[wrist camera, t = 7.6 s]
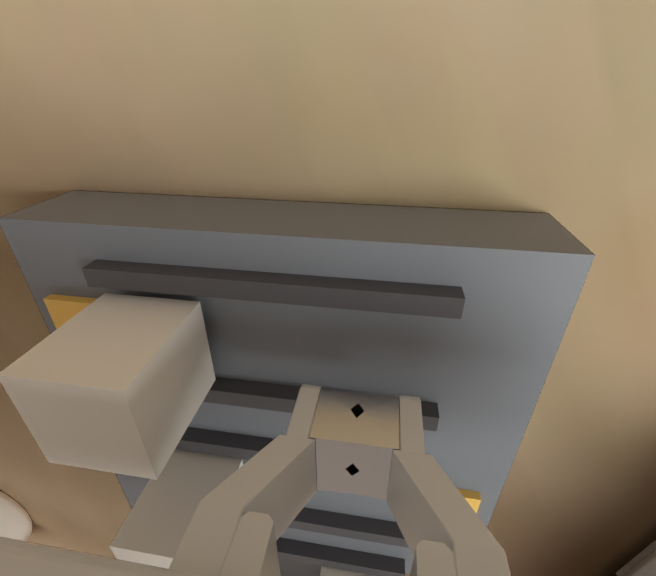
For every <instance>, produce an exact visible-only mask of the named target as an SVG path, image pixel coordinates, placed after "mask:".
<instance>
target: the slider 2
mask: <svg viewBox="0 0 656 576" xmlns="http://www.w3.org/2000/svg"><path fill="white" fill-rule="evenodd" d="M241 466H243V461H242V459H238V458H231V457H224V456H217V455H210V454H204V453H197V452H190V451H183V450H176V449H175V450H174V451H173V453H172V455H171V457H170V458H169V460H168V462H167V463H166V465H165V467H164V469H163V470H162V472H161V474H160V475H159V477H158V479H157V480H154V479H150V480H149V481H148V483H147V485H146V486H145V488H144V490H143V491H142V493H141V495H140V496H139V498H138V500H137V501H136V503H135V504H134V506H133V508H132V509H131V511H130V513H129V514H128V516H127V518H126V519H125V521H124V523H123V524H122V526H121V528H120V529H119V531H118V533H117V534H116V536H115V538H114V539H113V541H112V543H111V544H110V546H109V547H110V548H111V550H112V552H113V554H114V555H115V557H116V559H120V560H125V561H130V562H135V563H141V564H146V565H151V566H156V567H161V568H167V569H169V567H170V565H171V562H172V560H173V558H174V556H175V554H176V552H177V550H178V547H179V545H180V543H181V541H182V539H183V537H184V535H185V532H186V530H187V528H188V526H189V524H190V522H191V520H192V517H193V515H194V513H195V511H196V509H197V507H198V504H199V502H200V501H201V500H202V499H203V498H204V497H205V496H207V495H208V494H209V493H210V492H211V491H213V490H214V489H215V488H216V487H217V486H219V485H220V484H221V483H222V482H223V481H225V480H226V479H227V478H228V477H229V476H231V475H232V474H233V473H234V472H235V471H237V470H238V469H239V468H240V467H241Z"/></svg>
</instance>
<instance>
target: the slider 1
mask: <svg viewBox="0 0 656 576" xmlns="http://www.w3.org/2000/svg"><path fill="white" fill-rule="evenodd" d="M215 380H216V378H215V373H214V368H213V363H212V358H211V353H210V349H209V344H208V339H207V334H206V329H205V324H204V319H203V314H202V309H201V304H200V301H188V300H177V299H166V298H155V297H143V296H132V295H121V294H109V293H104V294H103V295H102V296H100V297H99V298H98V299H96V300H95V301H94V302H92V303H91V304H90V305H88V306H87V307H86V308H84V309H83V310H82V311H80V312H79V313H78V314H76V315H75V316H74V317H72V318H71V319H70V320H68V321H67V322H66V323H65V324H63V325H62V326H61V327H59V328H58V329H57V330H55V331H54V332H53V333H51V334H50V335H49V336H47V337H46V338H45V339H43V340H42V341H41V342H39V343H38V344H37V345H35V346H34V347H33V348H31V349H30V350H29V351H27V352H26V353H25V354H24V355H22V356H21V357H20V358H18V359H17V360H16V361H14V362H13V363H12V364H10V365H9V366H8V367H6V368H5V369H4V370H2V371H1V372H0V382H1V384H2V386H3V387H4V389H5V391H6V392H7V394H8V396H9V397H10V399H11V401H12V402H13V404H14V406H15V407H16V409H17V411H18V412H19V414H20V416H21V417H22V419H23V421H24V422H25V424H26V426H27V427H28V429H29V431H30V432H31V434H32V436H33V438H34V439H35V441H36V443H37V444H38V446H39V448H40V449H41V451H42V453H43V454H44V456H45V458H46V459H47V461H48V463H54V464H60V465H67V466H73V467H79V468H85V469H92V470H98V471H104V472H111V473H117V474H123V475H129V476H136V477H142V478H148V479H154V480H157V479H158V477H159V475H160V474H161V472H162V470H163V469H164V467H165V465H166V463H167V462H168V460H169V458H170V457H171V455H172V453H173V451H174V450H175V448H176V446H177V445H178V443H179V441H180V440H181V438H182V436H183V434H184V433H185V431H186V429H187V428H188V426H189V424H190V422H191V421H192V419H193V417H194V416H195V414H196V412H197V411H198V409H199V407H200V405H201V404H202V402H203V400H204V399H205V397H206V395H207V393H208V392H209V390H210V388H211V387H212V385H213V383H214V382H215Z"/></svg>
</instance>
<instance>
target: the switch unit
mask: <svg viewBox="0 0 656 576" xmlns="http://www.w3.org/2000/svg"><path fill="white" fill-rule="evenodd" d="M0 226H1V228H2V230H3V232H4V235H5V237H6V239H7V241H8V243H9V245H10V248H11V250H12V252H13V254H14V256H15V258H16V260H17V263H18V265H19V267H20V269H21V271H22V273H23V276H24V278H25V280H26V282H27V284H28V286H29V289H30V291H31V293H32V295H33V297H34V299H35V301H36V304H37V306H38V308H39V310H40V312H41V314H42V317H43V319H44V321H45V323H46V325H47V327H48V329H49V332H50V334H51V333H53V332H54V331H55V330H57V329H58V328H59V327H61V326H62V325H63V324H65V323H66V322H67V321H68V320H70V319H71V318H72V317H74V316H75V315H76V314H78V313H79V312H80V311H82V310H83V309H84V308H86V307H87V306H88V305H90V304H91V303H92V302H94V301H95V300H96V299H98V298H99V297H100V296H102V295H103V294H104V293H109V294H121V295H132V296H143V297H155V298H166V299H177V300H188V301H200V304H201V309H202V314H203V319H204V324H205V329H206V334H207V339H208V344H209V349H210V353H211V358H212V363H213V368H214V373H215V378H216V380H215V382H214V383H213V385H212V387H211V388H210V390H209V392H208V393H207V395H206V397H205V399H204V400H203V402H202V404H201V405H200V407H199V409H198V411H197V412H196V414H195V416H194V417H193V419H192V421H191V422H190V424H189V426H188V428H187V429H186V431H185V433H184V434H183V436H182V438H181V440H180V441H179V443H178V445H177V446H176V448H175V449H176V450H183V451H190V452H197V453H204V454H210V455H217V456H224V457H231V458H238V459H242V461H243V465H244V464H245V463H246V462H247V461H249V460H250V459H251V458H252V457H253V456H255V455H256V454H257V453H258V452H259V451H261V450H262V449H263V448H264V447H265V446H267V445H268V444H269V443H270V442H271V441H273V440H274V439H275V438H276V437H277V436H279V435H286V432H287V429H288V426H289V422H290V419H291V416H292V413H293V409H294V406H295V403H296V400H297V397H298V393H299V390H300V388H301V386H302V385H303V384H308V385H315V386H325V387H332V388H340V389H347V390H354V391H365V392H375V393H384V394H394V395H398V396H399V395H404V396H414V397H419V398H420V400H421V409H422V421H423V433H424V446H425V454H430V455H432V456H433V457H434V459H435V460H436V461H437V463H438V464H439V465H440V466H441V468H442V469H443V470H444V472H445V473H446V474H447V476H448V477H449V478H450V480H451V481H452V482H453V484H454V485H455V486H456V487H457V489H458V490H459V491H460V493H461V494H462V495H463V497H464V498H465V499H466V501H467V502H468V503H469V505H470V506H471V507H472V508H473V510H474V511H475V512H476V514H477V515H478V516H479V518H480V519H481V520H482V522H483V523H484V524H485V526H486V527H487V526H488V524H489V521H490V519H491V516H492V514H493V511H494V508H495V506H496V503H497V501H498V498H499V496H500V493H501V491H502V488H503V486H504V483H505V481H506V478H507V476H508V473H509V471H510V468H511V466H512V463H513V461H514V458H515V456H516V453H517V451H518V448H519V446H520V443H521V440H522V438H523V435H524V433H525V430H526V428H527V425H528V423H529V420H530V418H531V415H532V413H533V410H534V408H535V405H536V403H537V400H538V398H539V395H540V393H541V390H542V388H543V385H544V383H545V380H546V378H547V375H548V372H549V370H550V367H551V365H552V362H553V360H554V357H555V355H556V352H557V350H558V347H559V345H560V342H561V340H562V337H563V335H564V332H565V330H566V327H567V325H568V322H569V320H570V317H571V315H572V312H573V310H574V307H575V304H576V302H577V299H578V297H579V294H580V292H581V289H582V287H583V284H584V282H585V279H586V277H587V274H588V272H589V269H590V267H591V264H592V262H593V259H594V257H595V255H594V254H593V253H592V252H591V251H590V250H589V249H588V248H587V247H586V246H584V245H583V244H582V243H581V242H580V241H579V240H578V239H577V238H576V237H575V236H573V235H572V234H571V233H570V232H569V231H568V230H567V229H566V228H565V227H564V226H562V225H561V224H560V223H559V222H558V221H557V220H556V219H555V218H554V217H553V216H551V215H550V214H549V213H529V212H508V211H487V210H467V209H446V208H426V207H405V206H384V205H364V204H343V203H322V202H302V201H281V200H260V199H240V198H219V197H199V196H178V195H157V194H137V193H116V192H95V191H75V190H73V191H71V192H68V193H65V194H62V195H60V196H57V197H54V198H51V199H49V200H46V201H43V202H40V203H38V204H35V205H32V206H29V207H27V208H24V209H21V210H18V211H16V212H13V213H10V214H8V215H5V216H2V217H0ZM115 474H116V476H117V478H118V480H119V483H120V485H121V487H122V489H123V491H124V493H125V495H126V498H127V500H128V502H129V504H130V506H131V508H133V506H134V504H135V503H136V501H137V500H138V498H139V496H140V495H141V493H142V491H143V490H144V488H145V486H146V485H147V483H148V481H149V480H150V479H148V478H142V477H136V476H129V475H123V474H117V473H115ZM276 544H277V552H278V559H279V567H280V575H281V576H320V572H321V566H323V567H329V568H334V569H340V570H345V571H351V572H357V573H362V574H368V575H373V576H410V571H411V567H412V563H413V558H414V557H413V555H412V553H411V551H410V549H409V547H408V545H407V543H406V541H405V539H404V537H403V534H402V532H401V530H400V528H399V526H398V524H397V522H396V520H395V518H394V516H393V514H392V512H391V510H390V508H389V506H388V504H387V500H384V499H379V498H373V497H368V496H362V495H356V494H351V493H343V492H335V491H326V490H318V489H316V493H315V494H314V495H313V497H312V498H311V499H310V500H309V502H308V503H307V504H306V505H305V506H304V508H303V509H302V510H301V511H300V513H299V514H298V515H297V516H296V518H295V519H294V520H293V521H292V522H291V524H290V525H289V526H288V527H287V529H286V530H285V531H284V532H283V534H282V535H281V536H280V537H279V538H278V540H277V541H276Z"/></svg>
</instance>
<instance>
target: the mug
mask: <svg viewBox="0 0 656 576" xmlns="http://www.w3.org/2000/svg"><path fill="white" fill-rule="evenodd" d="M31 533H32V521H31V518H30V516H29V515H28V513H27V512H26V511H25V509H24V508H23V507H22V506H21V505H20V504H18V503H17V502H16V501H15V500H13V499H12V498H11V497H9V496H8V495H6V494H5V493H3V492H1V491H0V537H5V538H11V539H16V540H21V541H26V542H27V541H28V539H29V537H30V536H31Z"/></svg>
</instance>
